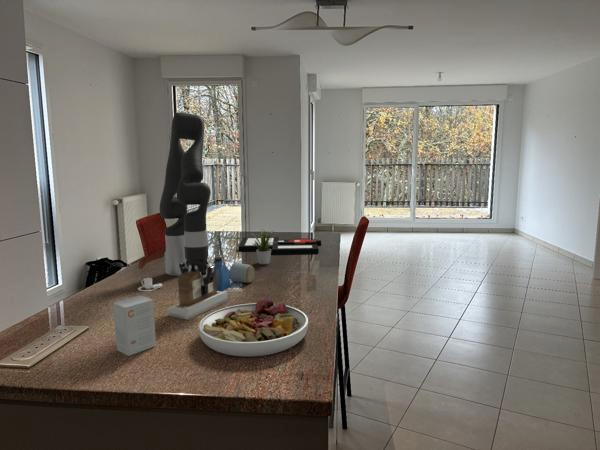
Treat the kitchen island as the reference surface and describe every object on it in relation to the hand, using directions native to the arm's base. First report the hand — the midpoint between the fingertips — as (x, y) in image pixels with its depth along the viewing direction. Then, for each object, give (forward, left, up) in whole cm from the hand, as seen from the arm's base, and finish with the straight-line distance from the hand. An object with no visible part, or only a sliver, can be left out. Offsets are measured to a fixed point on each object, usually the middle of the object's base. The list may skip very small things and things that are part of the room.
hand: (198, 294), depth 147 cm
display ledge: (0, 0, -5) cm, 5 cm away
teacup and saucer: (-30, +7, -5) cm, 32 cm away
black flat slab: (-25, +98, -5) cm, 101 cm away
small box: (+6, -32, -5) cm, 33 cm away
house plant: (-13, +63, -5) cm, 64 cm away
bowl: (+30, -12, -5) cm, 33 cm away
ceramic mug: (-5, +33, -5) cm, 34 cm away
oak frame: (0, 0, -2) cm, 2 cm away
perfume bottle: (-8, +21, -5) cm, 23 cm away
